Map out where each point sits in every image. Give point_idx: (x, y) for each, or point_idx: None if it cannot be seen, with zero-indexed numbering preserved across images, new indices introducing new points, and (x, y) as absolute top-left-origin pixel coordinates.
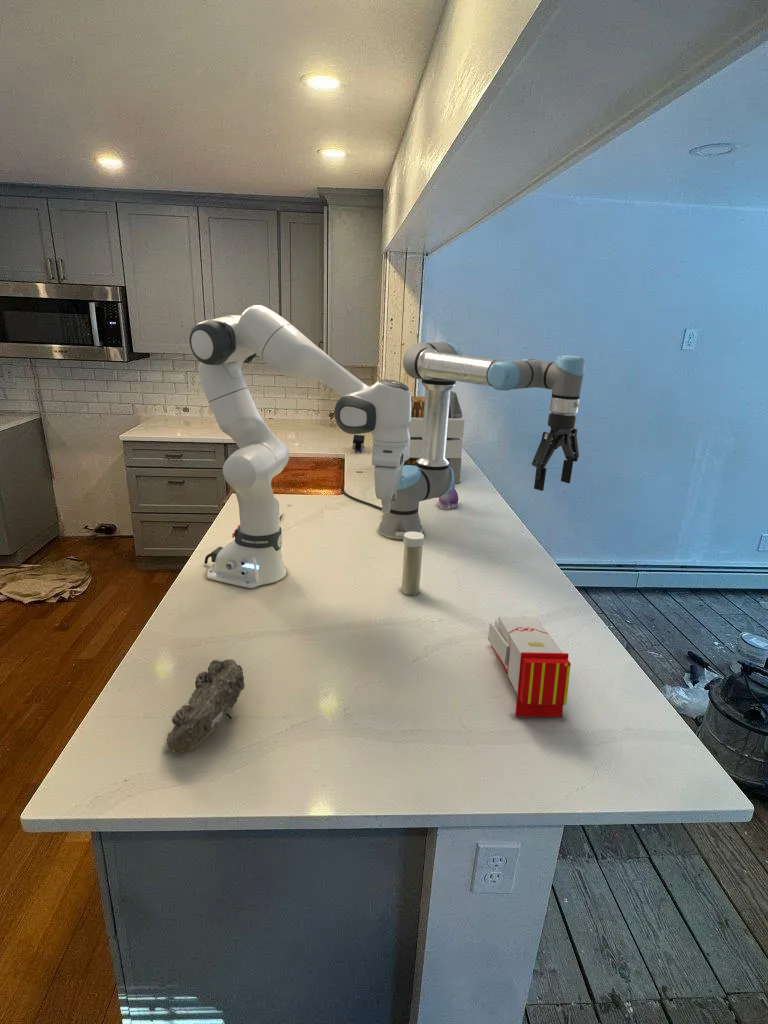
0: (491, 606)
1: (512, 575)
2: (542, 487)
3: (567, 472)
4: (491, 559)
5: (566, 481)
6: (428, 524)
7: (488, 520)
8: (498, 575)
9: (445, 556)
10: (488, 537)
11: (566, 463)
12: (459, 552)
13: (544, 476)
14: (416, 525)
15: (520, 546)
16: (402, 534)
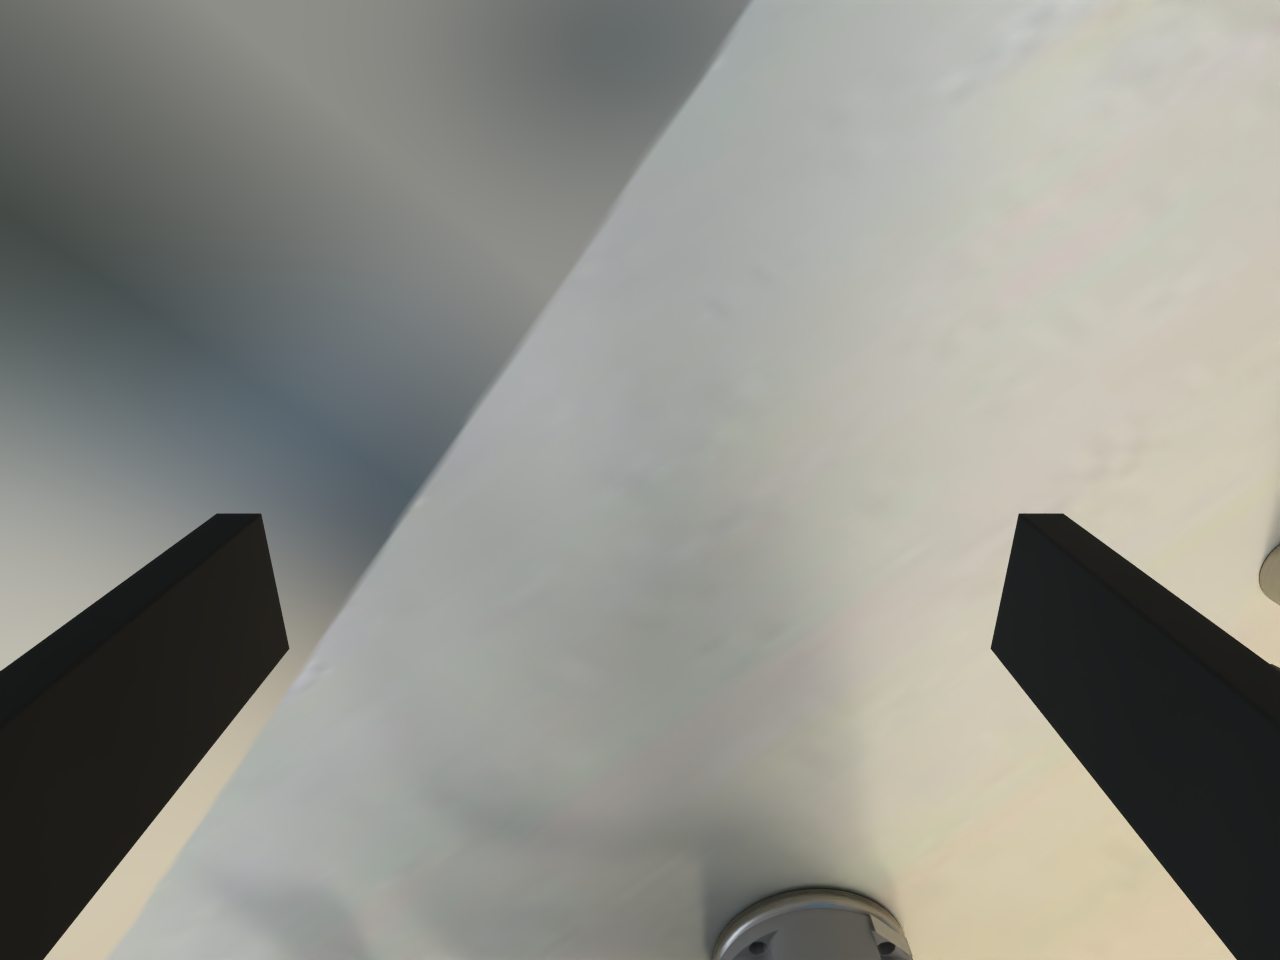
0: (1197, 233)
1: (792, 393)
2: (1093, 540)
3: (158, 669)
4: (714, 573)
5: (257, 564)
6: (631, 955)
7: (329, 860)
8: (850, 437)
9: (866, 709)
10: (502, 738)
11: (18, 885)
12: (774, 703)
13: (1245, 661)
14: (815, 953)
15: (444, 588)
16: (886, 929)
